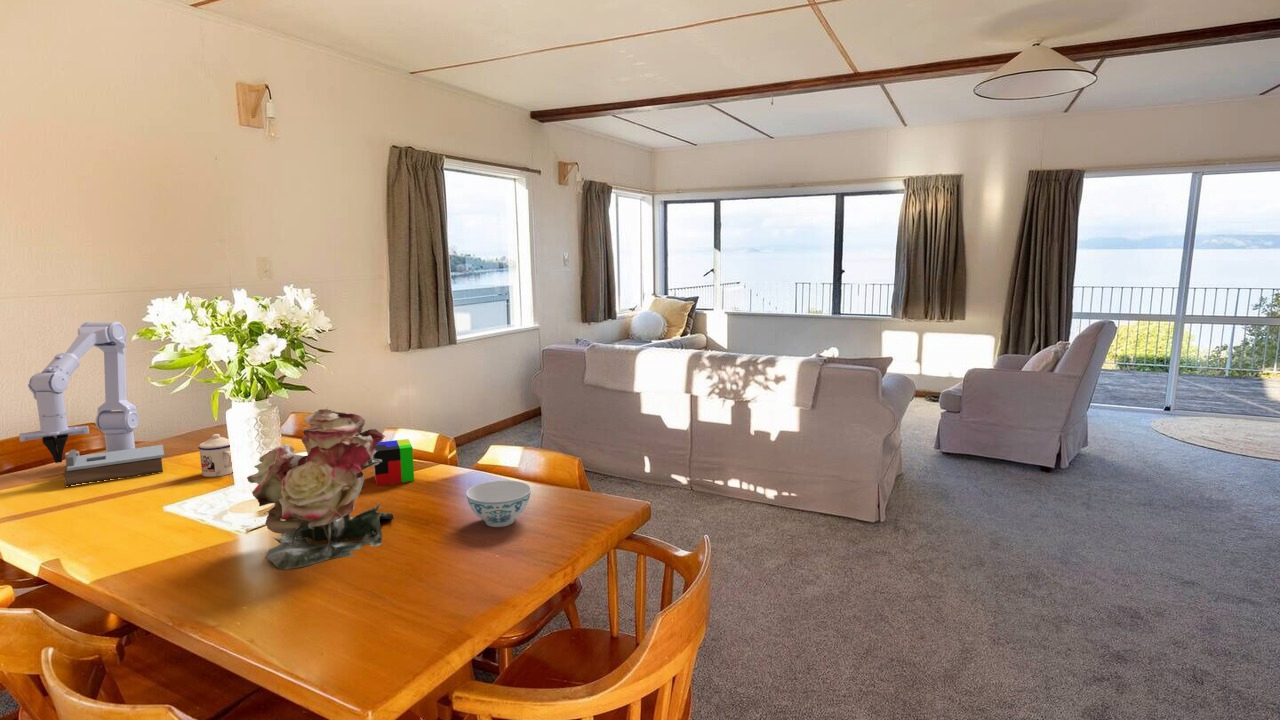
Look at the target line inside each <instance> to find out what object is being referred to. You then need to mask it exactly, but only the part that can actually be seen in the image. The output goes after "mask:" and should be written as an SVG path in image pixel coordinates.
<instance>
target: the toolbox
mask: <svg viewBox="0 0 1280 720" xmlns="http://www.w3.org/2000/svg"><path fill="white" fill-rule="evenodd" d="M105 459H106V458H105ZM98 460H103V459H98ZM91 461H96V460H91ZM162 461H163V460H162V458H155V459H148V460H141V461H134V462H127V463H120V464H113V465H106V466H99V467H92V468H85V469H78V470H71V471H67V466H68V462H67V465H66V464H65V468H64V471H63V477H64V484H65V485H64V486H65V487H66V486H71V485H76V484H82V483H89V482H97V481H104V480H110V479H118V478H125V479H128V478H127V477H131V478H134V477H133V476H138V475H144V476H147V475H146V474H151V475H153V474H152V473H157V474H159V473H158V472H163V473H164V470H163V462H162ZM87 462H88V461H87ZM138 477H139V476H138ZM118 480H119V479H118Z"/></svg>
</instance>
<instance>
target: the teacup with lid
mask: <svg viewBox="0 0 1280 720" xmlns="http://www.w3.org/2000/svg"><path fill="white" fill-rule="evenodd" d="M229 439H230V438H226V437H224V436H221V435H220V434H219V433H214V434H212V435H211V438H209V439H207V440H206V441H204V442H202V443H200V444H199V445H198V449H199V455H200V464H201V465H200V468H201V475H202V476H203V477H205V478H217V477H223V476H227V475H231V474H233V473H232V462H231V452H230V445H229Z"/></svg>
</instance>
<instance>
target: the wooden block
mask: <svg viewBox="0 0 1280 720" xmlns="http://www.w3.org/2000/svg"><path fill="white" fill-rule="evenodd" d="M69 452H70V451H68V452H65V454H64V456H65V466H66V465H67V462H68V460H67V457H68V454H69ZM76 456H81V455H80V451H79V450H76Z"/></svg>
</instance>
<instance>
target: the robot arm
mask: <svg viewBox="0 0 1280 720" xmlns="http://www.w3.org/2000/svg"><path fill="white" fill-rule="evenodd" d="M77 335H78V336H77V337H75V340H74V341H73V342H72V344H71V345H70V346H69V347H68V349H67V350H66V352H60V353H58V354H55V355H54V357H53V359H52V360H51V361H50V362H49V363H48V365H46V366H45V368H43V370H42V371H41V372H36V373H35V374H34V375H31V377H30V379H29V381H28V382H29V383H28V384H27V386H28V390H29V391H30V392H31V393H32V395H33V399H34V400H36V406H37V413H38V420H39V428H40V430H35V431H29V432H21V433H19V435H18V438H19V442H20V443H21V442H26V441H32V440H40V439H42V444H43V446H44V447H46V448H47V450H48V451H49V452H50V454H51V456H52V457H53V461H54V462H55V463H54V464H58V463H63V456H64V455H63V454H64V450H65V446H66V444H67V440H68V438H69V436H74V435H75V436H76V435H82V434H83V435H87V434H89V433H90V429H89V425H81V426H68V420H67V418H68V417H67V412H66V404H65V403H66V402H65V396H64V392H65V390H67V389H68V387H69V381H70V379H71V378H70V377H71V376H72V375H73V373H74V372H75V371H76V370H77V369H78V368H79V367H80V364H81V363H80V361H79V360H80V359H81V358H82V357H83V356H84V355H85V354H86V353H87V352H88V351H90V350H91V348H92V347H95V348H98V349H99V350H101V351H102V352H103V357H104V358H103V359H104V360H103V361H104V362H103V363H104V366H103V368H104V394H105V396H104V397H105V399H104V400H105V402H103V403H102V404H101V405H100V406H98V407H97V414H96V416H95V417H96V418H95V420H94V421H95V423H94V424H95V426H96V427H97V429H98V430H100V431H101V433H102V434H104V439H105V440H104V442H105V443H104V444H105V451H106V452H112V451H119V450H127V449H134V448H136V444H135V443H136V442H135V436H134V434H135V433H134V431H135V430H136V429H137V427H138V425H139V424H140V423H139V422H140V417H139V414H138V411H137V406H135V404H134V403H131V402H130V401H129V400H127V399H128V397H127V394H128V393H127V366H126V365H127V364H126V362H127V361H126V357H127V356H126V348H127V329H126V327H125V326H124V325H123V324H122V323H121V322H119V321H100V322H99V321H95V322H94V321H93V322H92V321H85V322H82V324H81V325H80V327H78V328H77Z"/></svg>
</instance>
